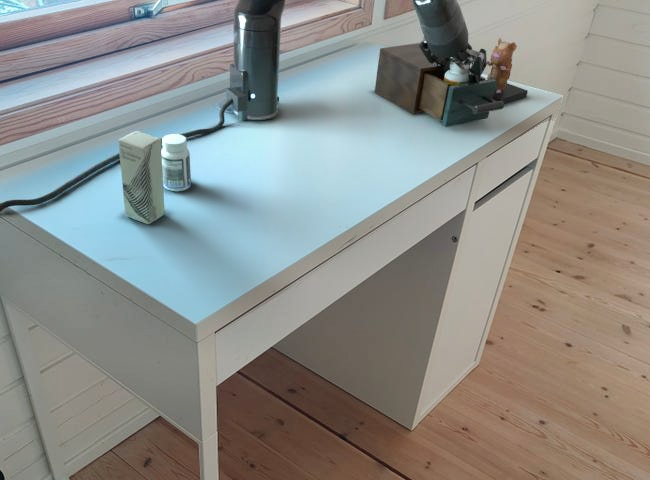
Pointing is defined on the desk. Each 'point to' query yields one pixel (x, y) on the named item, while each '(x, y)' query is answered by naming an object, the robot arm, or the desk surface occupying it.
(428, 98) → the drawer
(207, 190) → the desk surface
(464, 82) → the supplement bottle
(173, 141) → the pill bottle
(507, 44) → the figurine
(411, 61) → the cabinet
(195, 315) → the desk surface
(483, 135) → the desk surface
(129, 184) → the box
